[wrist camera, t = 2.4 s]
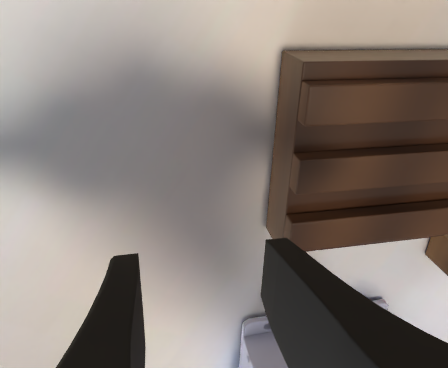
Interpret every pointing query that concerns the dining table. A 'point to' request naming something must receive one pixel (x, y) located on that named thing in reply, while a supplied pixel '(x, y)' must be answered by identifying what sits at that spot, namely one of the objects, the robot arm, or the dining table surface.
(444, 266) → the back rail
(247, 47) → the dining table surface
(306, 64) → the trivet
